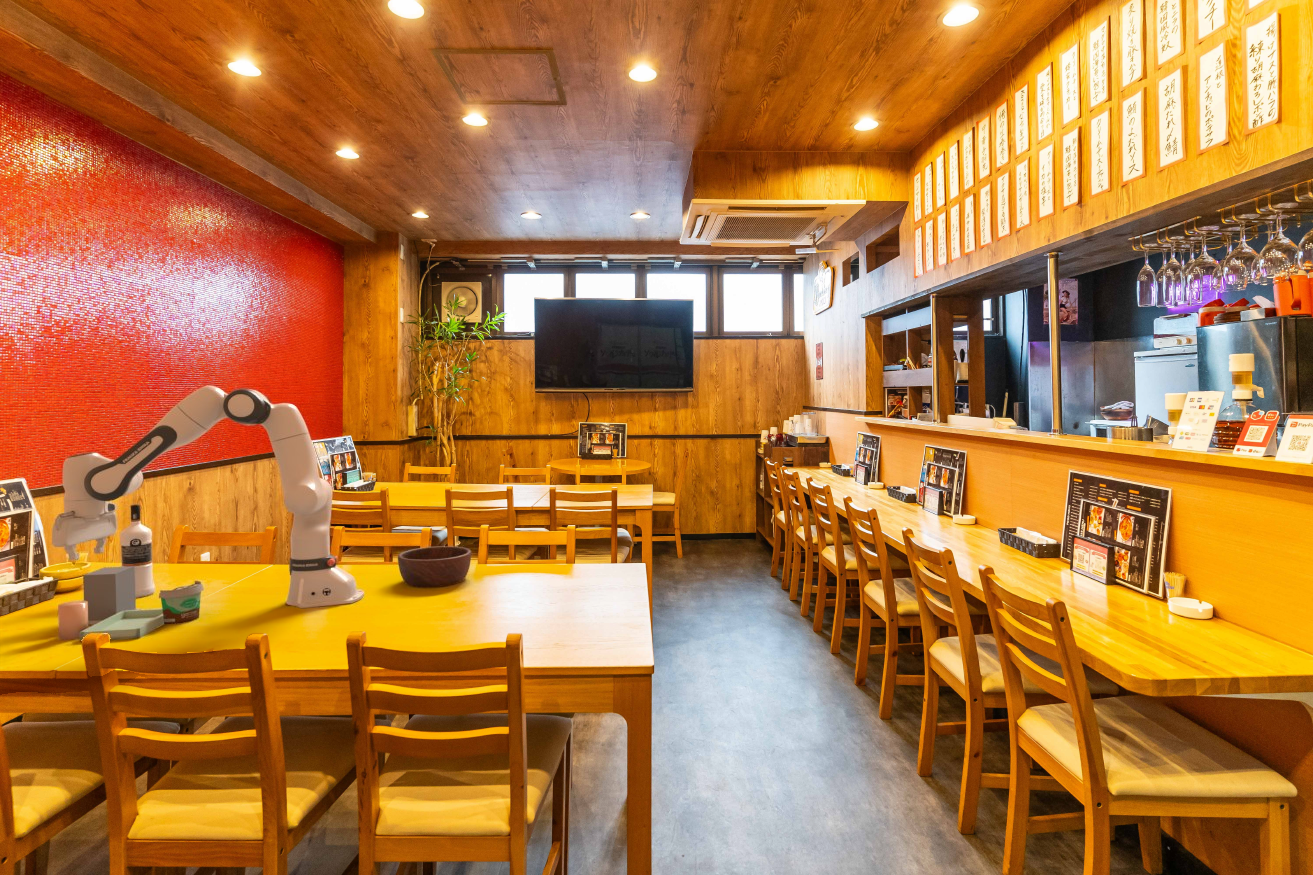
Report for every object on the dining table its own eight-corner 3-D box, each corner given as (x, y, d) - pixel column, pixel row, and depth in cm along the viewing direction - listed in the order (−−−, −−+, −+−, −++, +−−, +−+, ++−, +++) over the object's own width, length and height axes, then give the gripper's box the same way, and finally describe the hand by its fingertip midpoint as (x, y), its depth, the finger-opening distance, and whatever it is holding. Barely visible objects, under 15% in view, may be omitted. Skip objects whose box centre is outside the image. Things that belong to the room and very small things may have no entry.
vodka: (158, 590, 229) (155, 502, 228) (151, 596, 220) (149, 505, 219) (124, 593, 225) (121, 503, 224) (116, 600, 216) (113, 507, 215)
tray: (176, 616, 199) (176, 607, 199) (140, 637, 180) (139, 628, 180) (122, 619, 196) (122, 610, 196) (79, 641, 177) (79, 632, 177)
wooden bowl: (408, 573, 252) (407, 546, 252) (476, 572, 255) (476, 545, 255) (389, 591, 227) (388, 561, 227) (465, 589, 230) (464, 559, 230)
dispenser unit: (141, 611, 204) (140, 565, 204) (118, 622, 193) (117, 574, 192) (103, 613, 202) (102, 566, 202) (78, 625, 190) (76, 576, 190)
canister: (93, 632, 184) (92, 599, 184) (79, 639, 178) (78, 605, 178) (68, 633, 183) (67, 601, 183) (53, 641, 177) (52, 607, 177)
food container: (177, 627, 189) (176, 591, 188) (159, 625, 190) (158, 590, 190) (214, 614, 201) (213, 581, 200) (197, 613, 202) (196, 580, 202)
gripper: (67, 514, 185) (70, 564, 185) (120, 503, 205) (123, 549, 205) (43, 514, 184) (45, 565, 185) (98, 504, 204) (101, 549, 205)
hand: (87, 556), depth 195 cm, fingers open, 8 cm apart
